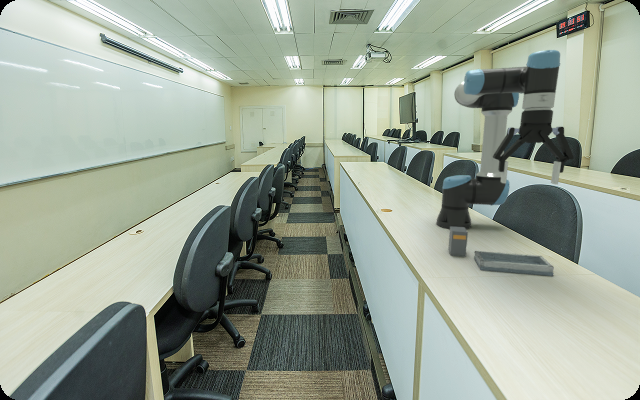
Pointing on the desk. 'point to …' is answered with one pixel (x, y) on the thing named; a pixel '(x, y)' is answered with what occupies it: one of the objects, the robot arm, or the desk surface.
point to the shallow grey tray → (513, 263)
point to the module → (457, 241)
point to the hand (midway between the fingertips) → (528, 183)
